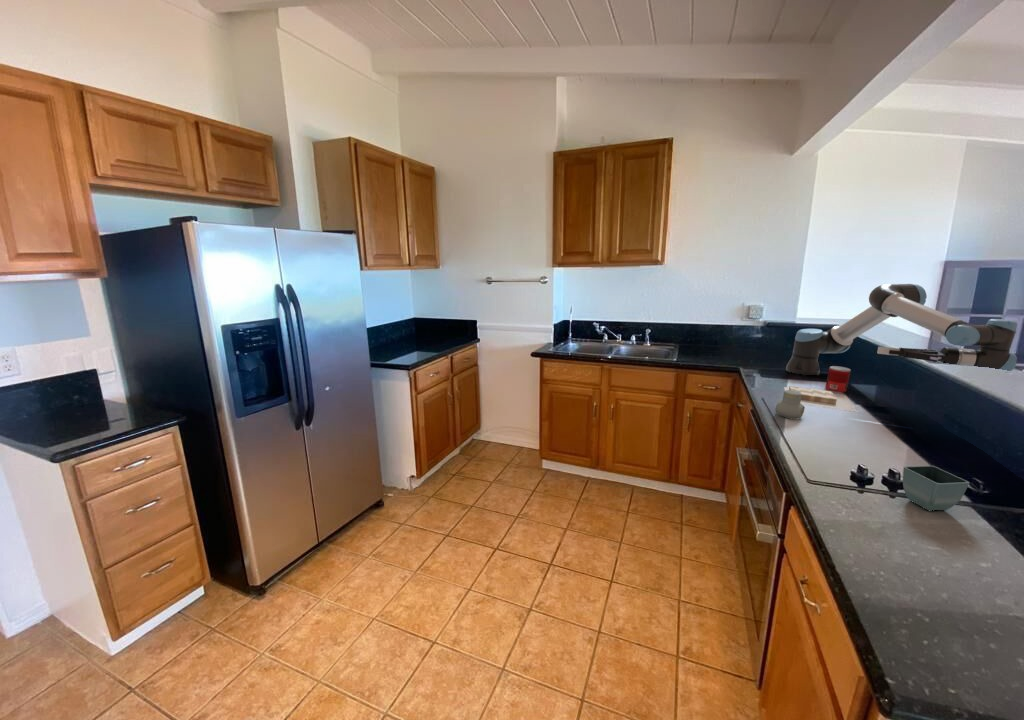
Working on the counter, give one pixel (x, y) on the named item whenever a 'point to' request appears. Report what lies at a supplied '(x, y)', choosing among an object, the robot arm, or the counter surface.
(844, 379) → the canned food
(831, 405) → the mat
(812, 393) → the tile
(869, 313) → the robot arm
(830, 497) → the counter surface
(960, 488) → the flower pot
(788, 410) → the air freshener
